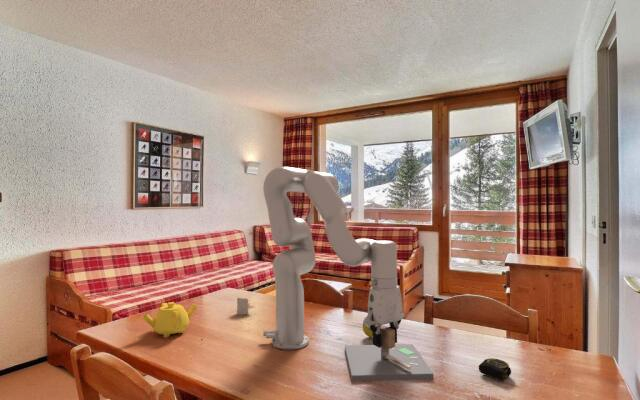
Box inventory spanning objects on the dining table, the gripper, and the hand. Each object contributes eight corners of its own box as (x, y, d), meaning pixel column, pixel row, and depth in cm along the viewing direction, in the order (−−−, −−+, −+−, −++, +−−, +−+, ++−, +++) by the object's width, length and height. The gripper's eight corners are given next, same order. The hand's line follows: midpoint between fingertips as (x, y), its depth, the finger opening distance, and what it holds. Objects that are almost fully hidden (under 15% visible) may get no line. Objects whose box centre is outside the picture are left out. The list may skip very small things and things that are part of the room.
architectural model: (241, 312, 158) (241, 295, 158) (254, 314, 155) (254, 297, 155) (236, 314, 155) (236, 297, 155) (250, 316, 152) (250, 299, 152)
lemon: (378, 341, 123) (378, 318, 123) (362, 340, 124) (361, 317, 124) (378, 335, 128) (378, 313, 128) (363, 334, 129) (363, 312, 129)
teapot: (149, 347, 120) (149, 313, 120) (135, 333, 134) (135, 303, 134) (207, 332, 133) (206, 302, 133) (188, 320, 147) (188, 293, 147)
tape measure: (477, 375, 99) (477, 361, 99) (491, 368, 103) (491, 355, 103) (501, 385, 93) (501, 371, 93) (515, 377, 97) (515, 364, 97)
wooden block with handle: (375, 354, 108) (375, 325, 108) (381, 352, 109) (381, 324, 109) (406, 371, 97) (406, 339, 97) (413, 369, 98) (412, 337, 98)
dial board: (351, 381, 96) (351, 375, 96) (344, 350, 116) (344, 345, 116) (433, 379, 96) (433, 373, 96) (412, 348, 116) (412, 343, 116)
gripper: (369, 289, 99) (370, 355, 99) (414, 281, 108) (415, 341, 107) (353, 283, 105) (354, 345, 105) (396, 276, 114) (397, 334, 114)
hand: (384, 343), depth 106 cm, fingers open, 5 cm apart
